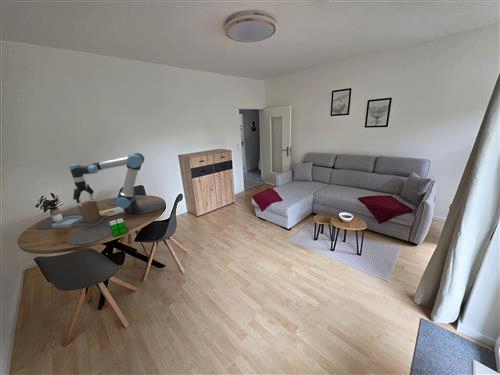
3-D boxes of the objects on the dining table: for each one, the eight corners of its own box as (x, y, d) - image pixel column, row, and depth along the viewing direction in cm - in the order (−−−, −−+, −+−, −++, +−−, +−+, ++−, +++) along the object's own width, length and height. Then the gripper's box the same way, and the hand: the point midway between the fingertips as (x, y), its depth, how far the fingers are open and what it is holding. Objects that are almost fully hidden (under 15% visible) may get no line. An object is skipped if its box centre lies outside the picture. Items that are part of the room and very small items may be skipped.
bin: (86, 218, 199) (85, 215, 198) (71, 227, 182) (69, 224, 181) (69, 219, 200) (68, 216, 199) (52, 228, 183) (51, 224, 182)
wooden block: (92, 224, 186) (85, 204, 180) (84, 223, 188) (77, 204, 182) (102, 219, 195) (96, 200, 189) (93, 219, 197) (87, 200, 191)
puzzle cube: (125, 227, 176) (122, 217, 173) (127, 232, 168) (124, 221, 165) (112, 232, 170) (108, 221, 167) (113, 236, 163) (110, 225, 160)
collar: (108, 217, 200) (108, 214, 199) (95, 225, 183) (94, 223, 182) (91, 217, 201) (90, 215, 200) (76, 226, 184) (75, 224, 183)
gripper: (86, 177, 191) (93, 198, 198) (62, 185, 167) (70, 208, 174) (94, 177, 191) (100, 198, 197) (71, 185, 167) (79, 208, 174)
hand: (86, 202), depth 186 cm, fingers open, 13 cm apart
